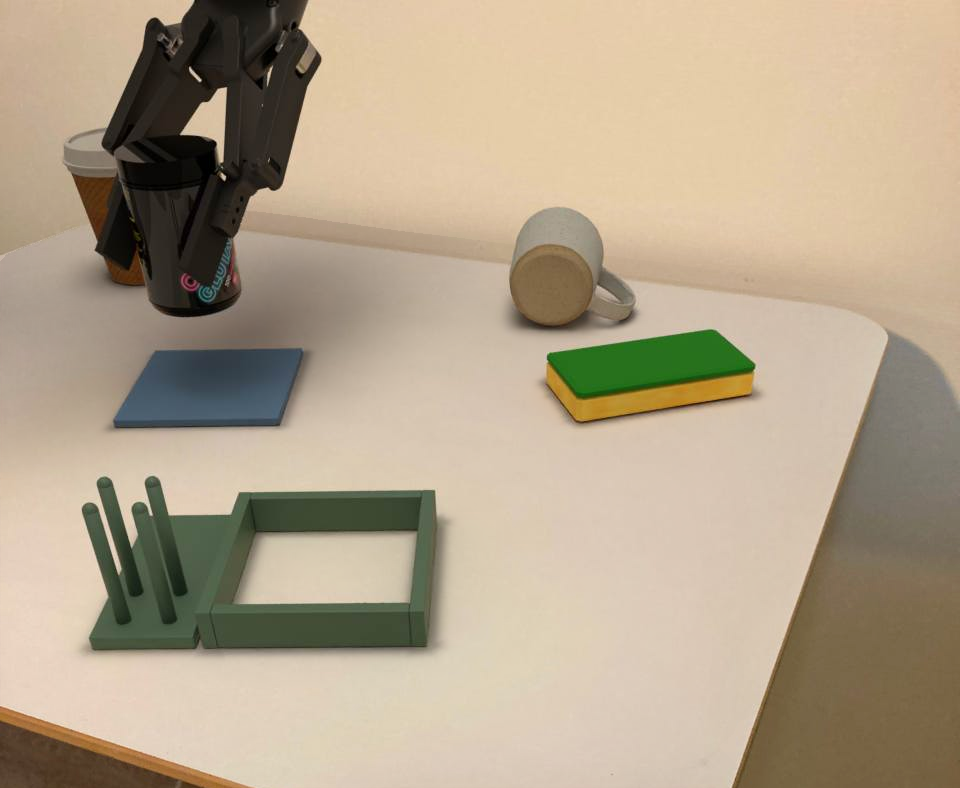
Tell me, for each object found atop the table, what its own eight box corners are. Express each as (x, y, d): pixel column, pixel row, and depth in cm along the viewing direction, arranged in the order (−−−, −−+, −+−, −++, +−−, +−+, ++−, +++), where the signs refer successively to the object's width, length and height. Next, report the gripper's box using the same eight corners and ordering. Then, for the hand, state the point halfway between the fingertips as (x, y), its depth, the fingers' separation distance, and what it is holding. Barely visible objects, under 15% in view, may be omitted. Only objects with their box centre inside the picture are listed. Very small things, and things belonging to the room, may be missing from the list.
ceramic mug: (505, 329, 87) (507, 236, 82) (515, 292, 93) (516, 203, 88) (633, 335, 86) (642, 241, 81) (634, 297, 92) (642, 207, 87)
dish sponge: (753, 395, 77) (758, 364, 75) (577, 424, 74) (578, 392, 72) (710, 356, 82) (714, 327, 80) (544, 382, 79) (545, 351, 78)
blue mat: (114, 427, 75) (112, 420, 75) (156, 357, 84) (155, 350, 84) (279, 425, 75) (278, 417, 74) (303, 354, 84) (302, 347, 84)
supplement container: (171, 328, 72) (135, 168, 65) (135, 299, 76) (98, 147, 69) (260, 304, 75) (234, 149, 68) (220, 277, 79) (192, 129, 72)
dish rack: (91, 649, 56) (48, 520, 50) (149, 525, 65) (117, 406, 60) (426, 646, 55) (417, 516, 50) (437, 522, 64) (430, 401, 59)
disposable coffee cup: (104, 258, 103) (71, 126, 95) (201, 253, 103) (176, 121, 95) (83, 294, 95) (45, 154, 88) (187, 289, 96) (159, 150, 88)
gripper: (408, 0, 71) (298, 317, 70) (186, -14, 78) (86, 272, 78) (356, -87, 64) (234, 264, 63) (119, -92, 71) (8, 221, 71)
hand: (152, 268), depth 71 cm, fingers closed on supplement container, 7 cm apart
